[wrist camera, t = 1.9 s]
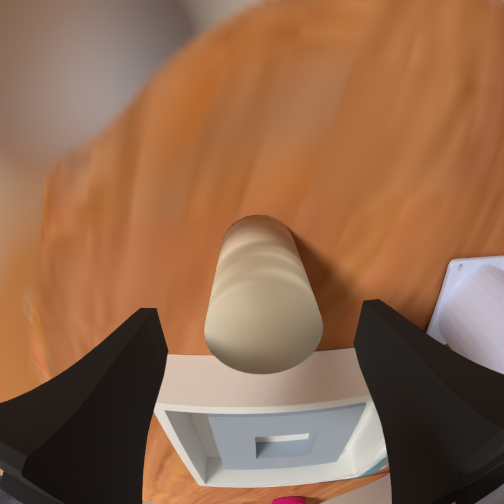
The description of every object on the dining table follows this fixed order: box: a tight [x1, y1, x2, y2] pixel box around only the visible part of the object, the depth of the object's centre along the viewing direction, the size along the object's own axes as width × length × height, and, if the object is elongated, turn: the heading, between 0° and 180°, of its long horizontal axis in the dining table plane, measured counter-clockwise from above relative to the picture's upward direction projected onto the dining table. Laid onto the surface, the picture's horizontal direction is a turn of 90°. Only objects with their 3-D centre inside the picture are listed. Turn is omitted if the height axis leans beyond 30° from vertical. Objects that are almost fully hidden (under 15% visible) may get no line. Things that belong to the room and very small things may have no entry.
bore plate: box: [208, 402, 366, 470], centre depth 21 cm, size 12×12×2 cm
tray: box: [154, 347, 385, 487], centre depth 21 cm, size 18×18×4 cm
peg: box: [204, 215, 323, 374], centre depth 12 cm, size 4×4×7 cm
